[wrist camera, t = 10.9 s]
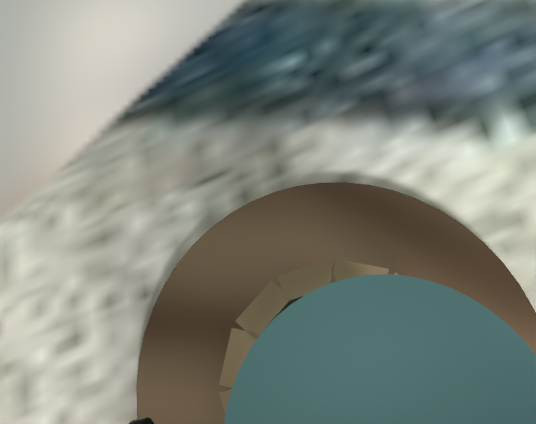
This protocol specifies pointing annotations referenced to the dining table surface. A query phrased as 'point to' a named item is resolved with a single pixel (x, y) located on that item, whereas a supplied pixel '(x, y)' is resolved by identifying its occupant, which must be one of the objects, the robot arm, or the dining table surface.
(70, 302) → the dining table surface
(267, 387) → the teal peg
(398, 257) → the walnut stand
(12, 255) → the dining table surface
